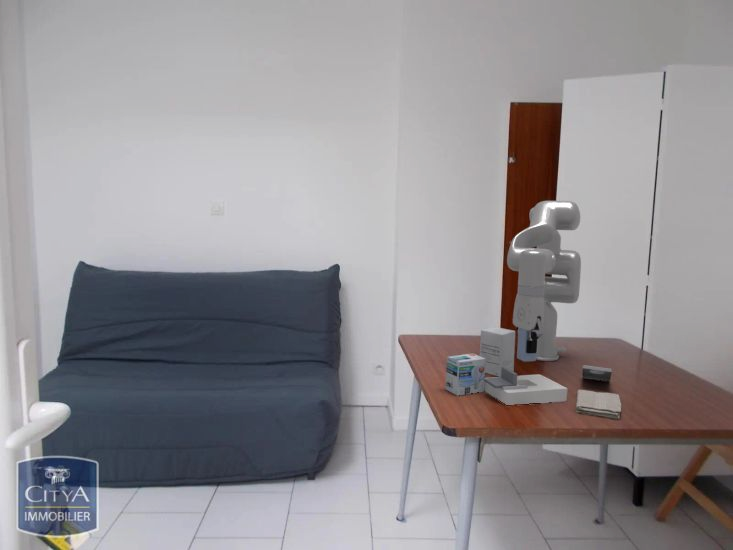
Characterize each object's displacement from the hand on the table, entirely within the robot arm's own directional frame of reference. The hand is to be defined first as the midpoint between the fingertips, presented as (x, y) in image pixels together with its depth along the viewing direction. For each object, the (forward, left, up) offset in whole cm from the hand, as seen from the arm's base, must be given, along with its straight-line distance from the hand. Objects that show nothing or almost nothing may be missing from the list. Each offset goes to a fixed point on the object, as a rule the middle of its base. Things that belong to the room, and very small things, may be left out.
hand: (526, 350), depth 159 cm
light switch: (-30, -4, -14) cm, 33 cm away
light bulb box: (+16, -8, -15) cm, 23 cm away
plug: (0, 0, -3) cm, 3 cm away
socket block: (0, 0, -14) cm, 14 cm away
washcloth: (-17, +12, -15) cm, 26 cm away
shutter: (+8, 0, -10) cm, 13 cm away
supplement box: (-4, -24, -14) cm, 28 cm away
